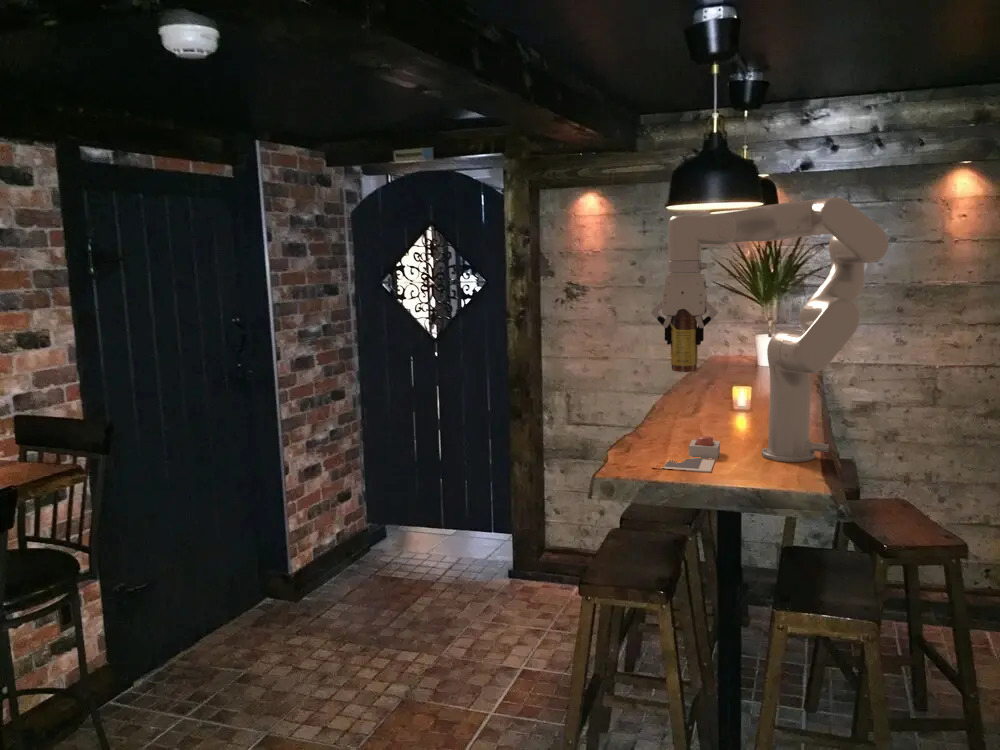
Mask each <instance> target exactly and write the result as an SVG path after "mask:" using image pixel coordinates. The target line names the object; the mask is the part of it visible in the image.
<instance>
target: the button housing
mask: <svg viewBox="0 0 1000 750" xmlns="http://www.w3.org/2000/svg"><path fill="white" fill-rule="evenodd" d="M719 453H720V454H721V441H720V440H713V446H703V445H697V439H691V442H689V445H688V457H689V456H692V457H701V458H712V459H715V460H719V457H718V456H720V454H719Z"/></svg>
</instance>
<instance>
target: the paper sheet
mask: <svg viewBox="0 0 1000 750" xmlns="http://www.w3.org/2000/svg"><path fill="white" fill-rule="evenodd" d="M691 458H692V457H691ZM691 458H690V459H686V460H685V461H684V462H683V461H682V462H683V463H682V462H681V463H677V462H676V463H677V464H676V463H675V461H674V463H673V460H672V462H671V460H670V461H669V462H667V464H665V466H664V467H663V468H665V469H676V470H675V471H680V470H686V471H685V472H696V473H699V472H700V473H712V470H713V468H714V464H715V462H716V459H709V458H692V459H691ZM661 468H662V467H661ZM665 469H664V470H665ZM677 469H678V470H677Z"/></svg>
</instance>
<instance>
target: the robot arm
mask: <svg viewBox="0 0 1000 750" xmlns="http://www.w3.org/2000/svg"><path fill="white" fill-rule="evenodd" d="M820 235H821V236H822V235H832V236H831V237H830V239H829V242H828V253H829V257H830V269H829V270H830V271H829V273H828V276H827V277H826V278H825V280H824V281H823V282H822V283H821V285H820V286H819V287H818V289H816V291H815V292H814V293H813V294H812V296H811V297H810V298H809V299H808V301H807V302H806V303H805V304H804V305H803V306H802V308H801V309H800V312H799V315H798V321H799V325H800V326H801V327H802V328H803V330H804V331H803V330H797V329H784V330H781V331H778V332H776V333H775V334H773V336H772V337H771V338H770V340H769V343H768V345H767V348H766V349H767V350H766V351H767V352H766V353H767V354H766V355H767V363H768V370H769V404H768V405H769V407H768V409H769V410H768V440H767V441H768V447H767V446H766V447H764V448H762V450H761V456H763V457H764V458H765V459H769V460H773V461H777V462H786V463H788V462H789V463H801V462H804V463H805V462H810V461H812V460H814V459H816V453H815V452H820V453H829V451H830V449H829V448H830V447H829V444H828V443H823V442H814V441H811V436H810V422H811V421H810V420H811V419H810V418H811V416H810V415H811V396H812V393H811V391H812V390H811V389H812V387H811V386H812V384H811V377H810V374H816V373H819V372H821V371H822V370H824V369H825V368H826V367H827V366H828V365H829V364H831V361H833V359H834V358H835V357H836V356H837V355H838V354H839V352H840V351H841V350H842V349H843V348H844V347H845V345H846V344H847V343H848V342H849V341H850V339H852V337H853V335H854V334H855V332H856V331H857V329H858V326H859V323H860V318H861V317H860V316H861V315H860V311H859V308H858V306H857V304H856V303H854V302H855V300H856V299H857V298H858V296H859V295H860V293H861V291H862V290H863V287H864V283H865V267H864V264H871V263H876V262H877V261H880V260H881V259H883V257H885V256H886V254H887V252H888V250H889V245H890V244H889V238H888V235H887V233H886V232H885V231H884V229H883V228H882V227H881V226H879V225H878V224H877V223H875V222H874V221H873V220H872V219H871V218H870V217H869V216H868V215H866V214H865V213H863V212H862V211H861V210H860V209H859V208H857V207H856V206H855V205H853V204H852V203H851V202H850V201H847V200H846V199H844V198H842V197H838V196H837V197H836V196H834V197H833V196H832V197H824V198H823V197H822V198H817V199H816V198H814V199H808V200H798V201H791V202H784V203H781V202H780V203H775V204H774V203H773V204H767V205H761V206H760V205H759V206H756V207H753V208H749V209H743V210H737V211H728V212H720V213H710V214H703V215H699V216H698V215H694V214H688V215H687V214H686V215H685V214H683V215H674V216H672V217H670V218H669V220H668V241H667V242H668V243H667V244H668V269H667V271H668V274H665V276H664V282H663V288H662V289H663V291H662V300H661V301H660V303H658V305H656V306H655V307H654V308H653V309H652V310H651V312H650V313H651V315H652V316H653V317H654V318H655V319H656V320H657V321H658V322H659V323H660V324H661V326H663V328H664V341H665V342H666V344H667V345H670V346H671V320H672V317H673V316H676V314H677V311H678V310H679V309H686V310H687V311H688V312H689V313H690V314H691V315H692V316H694V317H695V319H696V321H697V329H696V344H697V346H700V345H701V344H702V342H704V335H705V334H704V333H705V327H706V326H707V325H708V324H709V323H710V322H711V321H712V320H713V319H714V318H715V317H716V316H717V315H718V314H719V311H718V310H717V308H715V306H713V305H712V304H711V303H710V302H709V300H708V297H707V296H708V295H707V281H706V275H705V273H702V271H703V270H707V269H708V263H707V262H706V263H705V262H703V261H702V247H720V246H721V247H722V246H726V245H728V244H732V243H741V242H760V243H762V242H771V241H773V242H775V241H780V240H782V241H783V240H787V239H788V240H789V239H795V238H803V237H810V236H811V237H813V236H820ZM682 291H683V292H684V293H682V294H681V292H682ZM661 310H662V311H661ZM707 310H708V311H709V314H708V315H707V316H706V317H705V318H704V317H703V315H705V314H707V312H708V311H707ZM660 311H661V312H662V315H664V316H666V317H665V318H664V316H662V315H661V313H660Z"/></svg>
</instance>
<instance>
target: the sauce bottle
mask: <svg viewBox="0 0 1000 750" xmlns="http://www.w3.org/2000/svg"><path fill="white" fill-rule="evenodd" d="M682 293H684V292H683V291H682V292H681V294H682ZM697 328H698V323H697V321H696V319H695V317H694V316H692V315H691V314H690V313H689V312H688V311H687V310H686V309H679V310H678V311H677V314H676V316H673V317H672V320H671V344H670V364H671V370H672V371H673V372H677V373H679V372H680V373H691V372H695V371H697V370H698V369H697V367H698V365H697V364H698V352H699V351H698V350H699V349H698V345H697V344H696V329H697Z"/></svg>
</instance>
